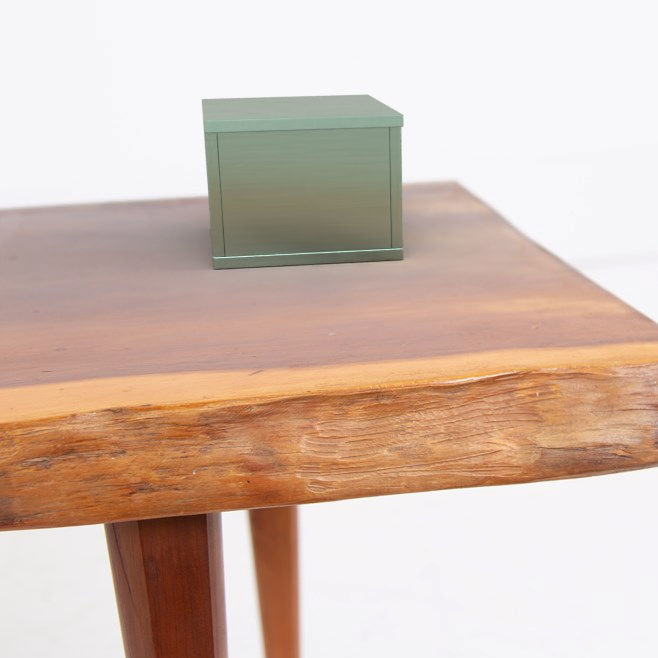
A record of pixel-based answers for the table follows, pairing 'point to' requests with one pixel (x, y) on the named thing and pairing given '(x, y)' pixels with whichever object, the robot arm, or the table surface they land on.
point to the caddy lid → (297, 113)
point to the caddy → (305, 196)
